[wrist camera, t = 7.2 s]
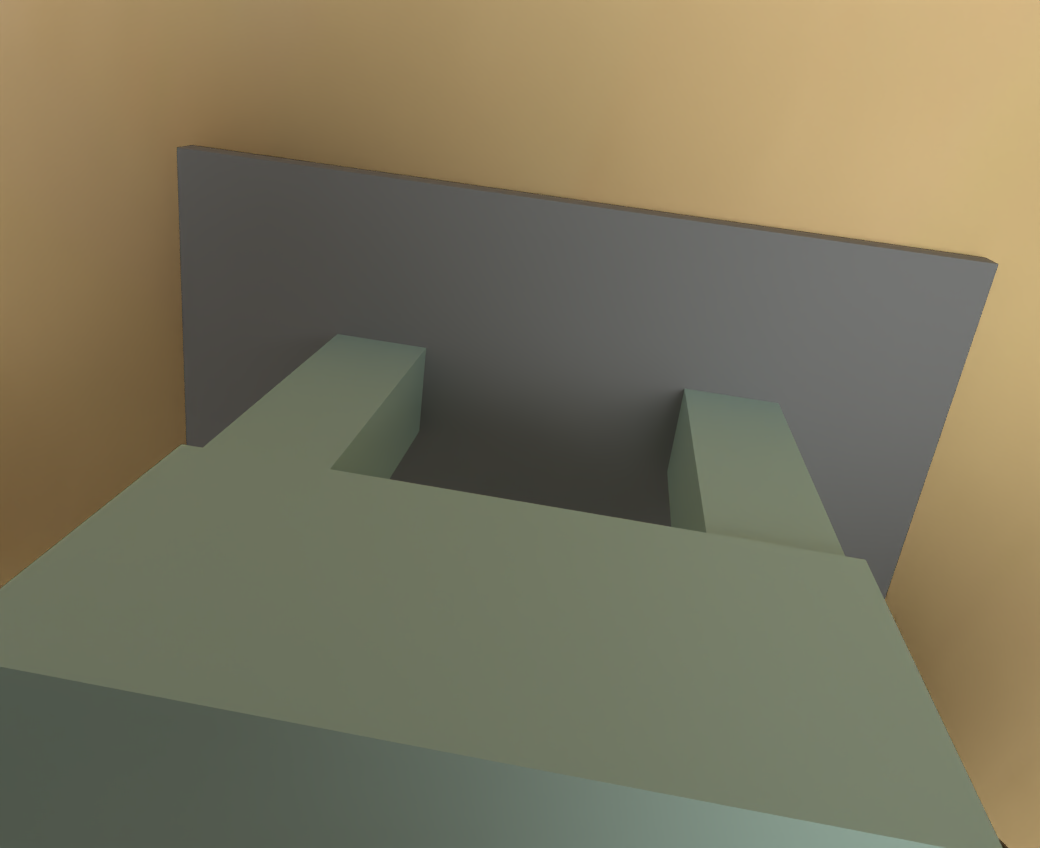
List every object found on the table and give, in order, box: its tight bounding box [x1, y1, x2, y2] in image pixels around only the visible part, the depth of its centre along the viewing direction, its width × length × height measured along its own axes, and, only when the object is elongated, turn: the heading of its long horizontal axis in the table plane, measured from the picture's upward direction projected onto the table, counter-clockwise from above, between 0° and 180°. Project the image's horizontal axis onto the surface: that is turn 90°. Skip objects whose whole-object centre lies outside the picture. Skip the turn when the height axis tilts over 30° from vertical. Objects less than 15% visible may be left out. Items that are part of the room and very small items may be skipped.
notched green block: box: [0, 334, 1002, 848], centre depth 9 cm, size 6×6×7 cm
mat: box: [177, 145, 998, 599], centre depth 12 cm, size 10×10×1 cm
